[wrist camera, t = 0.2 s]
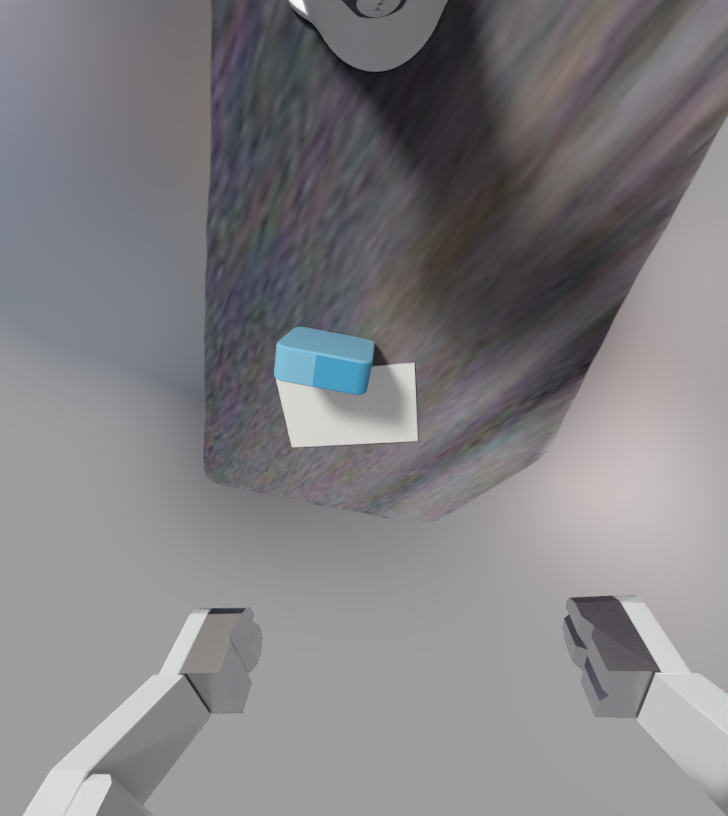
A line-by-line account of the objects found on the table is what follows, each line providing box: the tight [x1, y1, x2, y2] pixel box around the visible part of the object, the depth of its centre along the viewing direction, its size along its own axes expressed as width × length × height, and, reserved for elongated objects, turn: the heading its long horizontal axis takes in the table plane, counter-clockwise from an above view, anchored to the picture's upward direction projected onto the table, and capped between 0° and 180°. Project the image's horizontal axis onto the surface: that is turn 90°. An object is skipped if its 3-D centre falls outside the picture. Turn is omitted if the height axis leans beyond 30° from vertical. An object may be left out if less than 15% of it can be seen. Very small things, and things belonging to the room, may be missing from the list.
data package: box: [274, 327, 375, 395], centre depth 50 cm, size 12×4×12 cm, turn 80°
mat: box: [276, 363, 418, 448], centre depth 60 cm, size 14×22×1 cm, turn 96°
